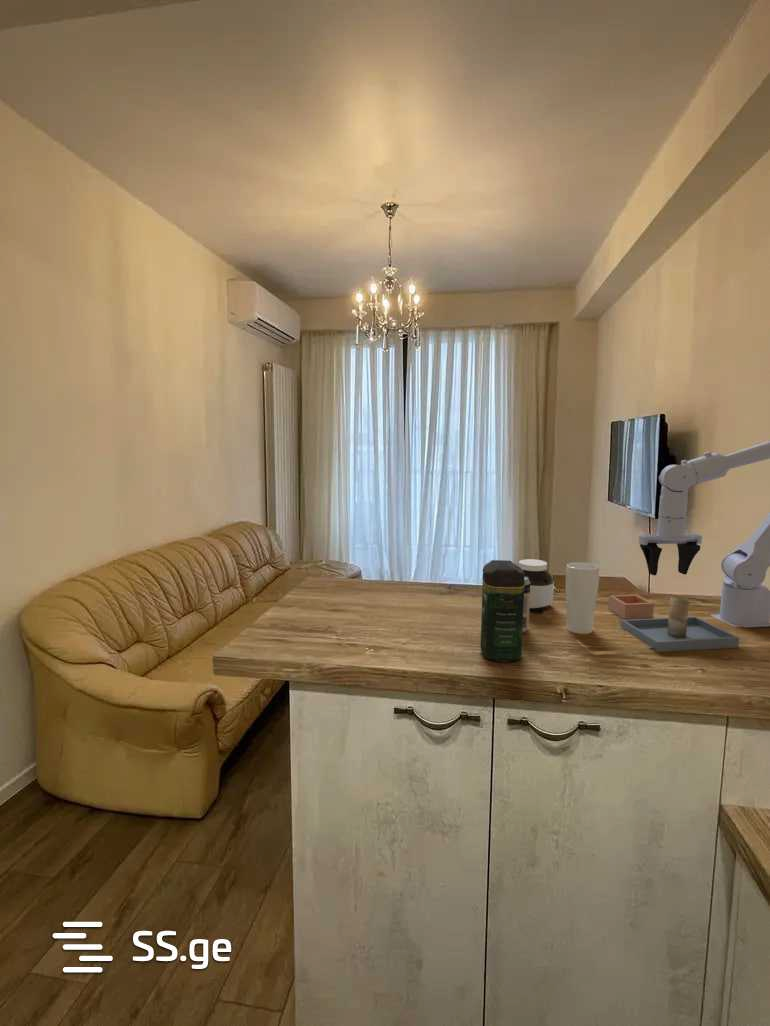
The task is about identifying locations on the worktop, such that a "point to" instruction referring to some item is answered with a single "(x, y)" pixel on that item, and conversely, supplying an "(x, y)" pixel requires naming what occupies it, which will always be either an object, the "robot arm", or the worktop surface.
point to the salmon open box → (630, 606)
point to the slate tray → (696, 638)
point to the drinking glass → (581, 596)
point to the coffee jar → (502, 611)
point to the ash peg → (678, 617)
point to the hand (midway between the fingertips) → (667, 573)
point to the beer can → (526, 605)
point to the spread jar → (538, 584)
